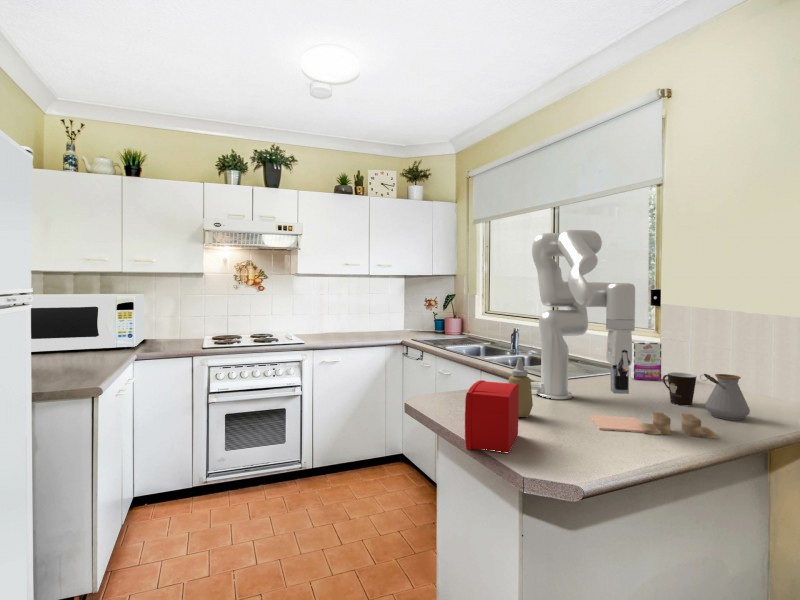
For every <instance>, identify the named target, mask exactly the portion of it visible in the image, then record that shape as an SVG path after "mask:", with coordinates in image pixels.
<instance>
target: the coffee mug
mask: <svg viewBox="0 0 800 600" xmlns="http://www.w3.org/2000/svg"><path fill="white" fill-rule="evenodd" d="M666 378H667V380H668V383H667V382H666ZM696 381H697V375H696V374H694V373H693V374H692V373H689V372H668V373H667V374H665V375H663V377H662V382H663V384H664V386H665V387H666V388H667V389H668V391H669V398H670V403H671V404H673V403H674V404H673V405H676V404H678V405H677V406H683V405H690V406H693V400H694V394H695V391H696V390H695V388H696Z"/></svg>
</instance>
